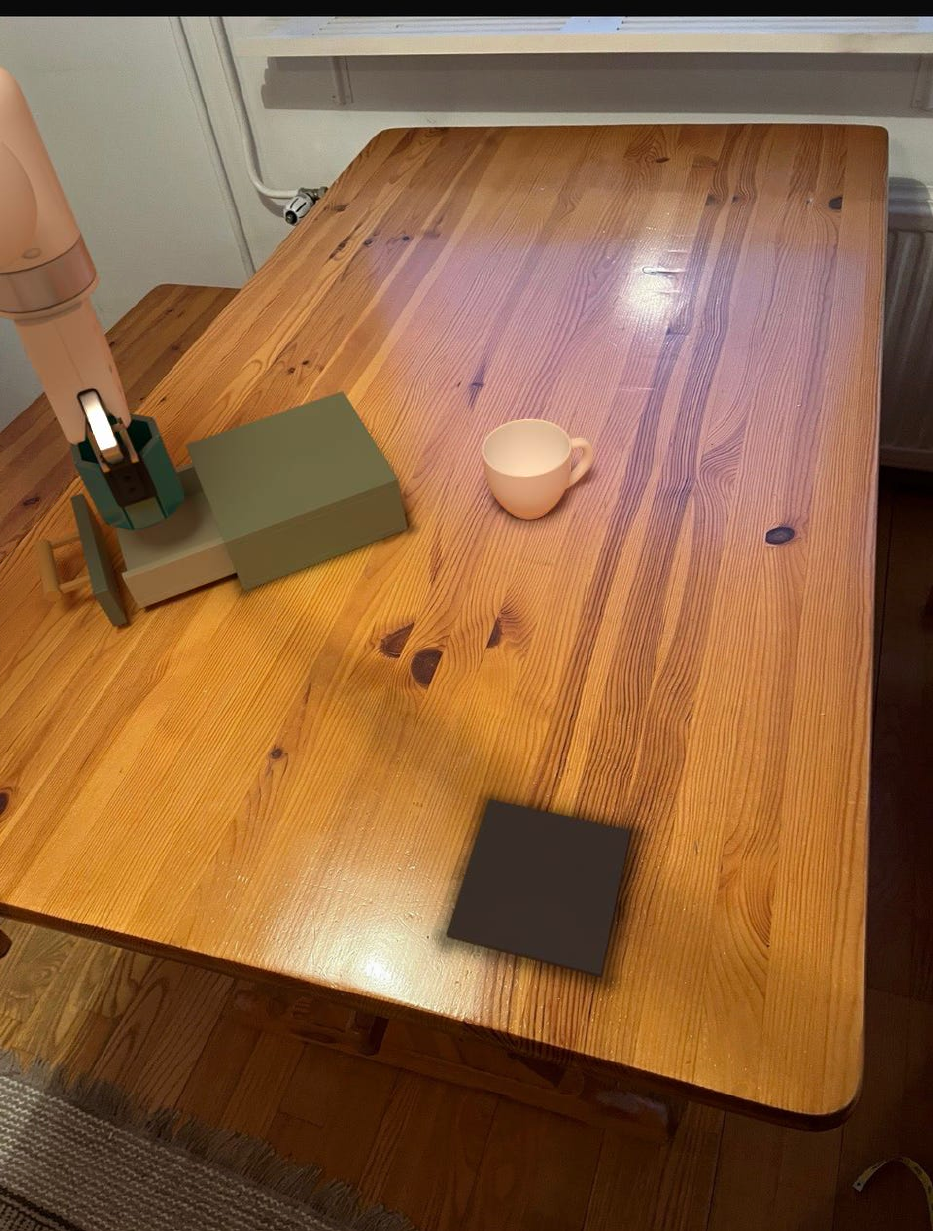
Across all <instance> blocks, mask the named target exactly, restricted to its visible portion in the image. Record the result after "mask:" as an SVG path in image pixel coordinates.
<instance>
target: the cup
mask: <svg viewBox="0 0 933 1231" xmlns="http://www.w3.org/2000/svg"><path fill="white" fill-rule="evenodd" d="M579 449H582V455H581V459H580V460H579V462H578V464H576V466H575V467H574V468H573V469H572V458H573V457H572V456H573V454H572V453H573V452H574V451H576V450H579ZM481 456H482V464H483V466H482V467H483V472H484V477H485V480H486V483H487V486H488V488H489V490H490V493H491V494H492V496H493V497H494V498H495V499H496V501H497V503H499V504H500V506H501V507H502V508H503V509H505V511H507V512H508V513H509V514H511V516H513V517H515V518H516V519H520V520H526V521H527V520H536V519H540V518H542V517H545V515H547V514H548V513H549V512H551V510H553V509H554V507H555V506H556V505H557V504H558V502H559V501H560V500H561V499H562V496H564V493H565V491H566V490H567V489H569V488H571V487H572V486H573V485H575V484H576V483H577V482H578V481H579V480H581V478H582V477H583V476H584V475H585V474H586V473H587V472H588V470H589V468H590V467H591V465H592V463H593V460H594V450H593V446H592V444H591V443H590V441H589V440H588V439H587V438H585V437H582V436H581V437H580V436H578V437H572V438H571V437H570V435H569V434H568V433H567V432H566V431H565V430H564V428H562V427H561V426H559V425H558V424H555V423H554V422H551V421H548V420H544V419H540V418H539V419H538V418H522V419H521V418H520V419H516V420H511V421H507V422H506V423H503V424H501V425H499V426H497V427H496V428H494V429H493V430H491V431H490V432H489V433H488V434H487V435H486V437H485V438H484V440H483V443H482V446H481Z"/></svg>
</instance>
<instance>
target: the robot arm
mask: <svg viewBox="0 0 933 1231" xmlns="http://www.w3.org/2000/svg"><path fill="white" fill-rule="evenodd" d="M99 282H100V276H99V273H98V271H97V268H96V266H95V263H94V261H93V258H92V255H91V254H90V251H89V248H88V247H87V244H86V241H85V239H84V237H83V235H82V231H81V230H80V227H79V225H78V222H77V220H76V218H75V215H74V213H73V210H72V208H71V205H70V203H69V200H68V198H67V196H66V194H65V191H64V188H63V187H62V184H61V181H60V179H59V176H58V174H57V171H56V170H55V167H54V165H53V162H52V160H51V157H50V155H49V152H48V150H47V148H46V145H45V142H44V140H43V137H42V136H41V133H40V130H39V128H38V125H37V123H36V120H35V118H34V116H33V113H32V110H31V108H30V106H29V103H28V102H27V99H26V97H25V93H23V90H22V88H21V86H20V85H19V83H18V81H17V80H16V78H15V77H14V76H13V75H12V74H11V73H10V71H8V70H7V69H5V68H4V67H2V66H1V65H0V318H3V319H7V320H12V321H13V324H14V327H15V329H16V332H17V335H18V337H19V339H20V341H21V342H20V343H21V344H22V346H23V349H24V350H25V353H26V355H27V358H28V359H29V362H30V364H31V366H32V368H33V370H34V372H35V375H36V376H37V379H38V381H39V383H40V385H41V387H42V389H43V392H44V393H45V396H46V397H47V400H48V401H49V404H50V406H51V408H52V411H53V412H54V414H55V417H56V419H57V420H58V423H59V425H60V427H61V429H62V431H63V434H64V436H65V438H66V441H67V442H69V443H70V444H71V443H72V444H75V445H76V444H78V442H82V441H85V431H86V434H87V437H88V439H89V440H90V443H91V445H92V447H93V450H94V452H95V454H96V457H97V459H98V461H99V463H100V466H99V468H100V471H101V473H102V475H103V477H104V479H105V481H106V483H107V485H108V487H109V489H110V491H111V493H112V495H113V497H114V499H115V501H116V503H117V505H118V506H119V507H121V508H123V507H127V506H130V505H133V504H135V503H138V502H141V501H144V500H147V499H150V498H153V497H155V496H156V495H157V490H156V487H155V485H154V483H153V480H152V478H151V476H150V474H149V471H148V469H147V467H146V465H145V462H144V460H143V458H142V456H141V454H140V453H138V454H137V453H136V451H135V449H134V446H133V444H132V441H131V439H130V437H129V434H128V432H127V430H126V428H127V427H128V426H129V424H130V422H131V417H130V414H129V413H130V411H129V407H128V403H127V400H126V396H125V391H124V389H123V386H122V382H121V379H120V374H119V372H118V369H117V366H116V363H115V359H114V357H113V354H112V351H111V349H110V346H109V344H108V340H107V338H106V336H105V332H104V330H103V328H102V326H101V323H100V321H99V318H98V315H97V313H96V311H95V308H94V307H93V304H92V301H91V298H90V296H92V295H93V293H94V292H95V291H96V289H97V288H98V285H99V284H100V283H99ZM112 416H115V418H116V420H117V422H116V423H113V424H110V423H109V420H108V418H109V417H112ZM90 425H91V427H92V430H91V427H90ZM116 432H119V433H120V435H121V437H122V440H123V442H124V445H125V446H124V445H123V444H121V445H119V444H118V442H117V440H116V438H115V435H114V433H116Z"/></svg>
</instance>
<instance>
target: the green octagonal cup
mask: <svg viewBox="0 0 933 1231" xmlns="http://www.w3.org/2000/svg"><path fill="white" fill-rule="evenodd" d="M129 414H130V417H131V422H130V424H129V426H128V427H127V428H126V430H127V432H128V434H129V437H130V439H131V441H132V444H133V446H134V449H135V451H136V453H137V454H138V453H140V454H141V456H142V458H143V460H144V462H145V465H146V467H147V469H148V471H149V474H150V476H151V478H152V480H153V483H154V485H155V487H156V490H157V495H156V496H155V497H153V498H150V499H147V500H144V501H141V502H138V503H135V504H133V505H130V506H127V507H123V508H121V507H119V506H118V505H117V503H116V501H115V499H114V497H113V495H112V493H111V491H110V489H109V487H108V485H107V483H106V481H105V479H104V477H103V475H102V473H101V471H100V468H99V466H100V463H99V461H98V459H97V457H96V454H95V452H94V450H93V447H92V445H91V443H90V440H89V439H88V437H87V434H86V431H85V441H82V442H78V444H76V445H75V444H72V443H70V445H69V450H70V455H71V458H72V462H73V465H74V468H75V470H76V472H77V473H78V476H79V477H80V479H81V481H82V483H83V485H84V487H85V489H86V491H87V493H88V495H89V496H90V498H91V500H92V503H93V504H94V506H95V508H96V510H97V512H98V514H99V516H100V518H101V520H102V522H103V523H104V524H105V525H106V526H109V527H114V528H115V527H118V528H123V529H127V530H139V529H145V528H149V527H152V526H155V525H157V524H159V523H161V522H163V521H165V520H166V519H167V518H169V517H170V516H171V515H172V514H173V513H174V512H175V510H176V509H177V507H178V506H179V505H180V503H181V502H182V501H183V500H184V499H185V497H184V496H185V495H186V494H185V492H184V489H183V486H182V484H181V481H180V478H179V476H178V474H177V471H176V469H175V468H176V467H175V466H176V465H175V464H174V462H173V458H172V456H171V455H170V452H169V449H168V447H167V444H166V442H165V440H164V437H163V435H162V432H161V431H160V427H159V425H158V423H157V420H156V419H155V418H154V417H152V416H148V415H142V414H136V413H132V412H129ZM108 420H109V423H110V424H113V423H116V422H117V420H116V418H115V416H112V417H109V418H108ZM90 427H91V425H90ZM91 430H92V427H91ZM114 435H115V438H116V440H117V442H118V444H119V445H121V444H123V445H124V442H123V440H122V437H121V435H120V433H119V432H116V433H114ZM124 446H125V445H124Z"/></svg>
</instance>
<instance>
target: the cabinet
mask: <svg viewBox="0 0 933 1231" xmlns="http://www.w3.org/2000/svg"><path fill="white" fill-rule="evenodd" d="M185 448H186V451H187V453H188V456H189V458H190V460H191V462H192V463H193V465H194V468H195V470H196V473H197V475H198V478H199V480H200V483H201V485H202V488H203V490H204V493H205V495H206V498H207V500H208V503H209V506H210V508H211V511H212V513H213V516H214V518H215V521H216V523H217V526H218V528H219V531H220V533H221V536H222V538H223V541H224V543H225V545H226V548H227V550H228V553H229V555H230V558H231V560H232V562H233V565H234V567H235V570H236V574H237V577H238V580H239V582H240V584H241V587H242V589H243V591H244V592H247V591H248V590H251V589H255V588H256V587H260V586H262V585H265V584H267V583H270V582H272V581H275V580H278V579H281V578H283V577H286V576H289V575H291V574H293V573H296V572H299V571H302V570H305V569H307V568H309V567H312V566H315V565H317V564H320V563H323V562H325V561H328V560H331V559H333V558H336V557H338V556H341V555H344V554H346V553H349V552H351V551H355V550H357V549H359V548H363V547H365V546H367V545H371V544H373V543H375V542H378V541H381V540H383V539H386V538H389V537H391V536H394V535H397V534H398V533H402V532H404V531H407V530H408V529H409V526H408V523H407V522H408V521H407V518H406V513H405V506H404V501H403V497H402V491H401V487H400V482H399V481H400V480H399V478H398V476H397V475H396V473H395V471H394V470H393V468H392V467H391V465H390V463H389V462H388V460H387V459H386V457H385V456H384V453H383V452H382V451H381V449H380V448H379V446H378V445H377V443H376V441H375V439H374V438H373V436H372V435H371V433H370V431H369V429H368V428H367V426H365V424H364V422H363V420H362V419H361V417H360V416H359V414H358V413H357V411H356V409H355V408H354V406H353V404H352V403H351V402H350V399H348V397H347V395H346V394H345V392H344V391H343V390H341V391H339V392H335V393H333V394H330V395H327V396H324V397H321V398H318V399H315V400H313V401H309V402H306V403H303V404H301V405H298V406H295V407H292V408H288V409H286V410H283V411H280V412H276V413H274V414H271V415H268V416H266V417H265V416H264V417H262V418H259V419H256V420H254V421H251V422H248V423H245V424H242V425H238V426H236V427H233V428H230V429H227V430H225V431H221V432H219V433H216V434H213V435H210V436H207V437H204V438H201V439H198V440H195V441H192V442H190V443H186V444H185Z"/></svg>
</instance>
